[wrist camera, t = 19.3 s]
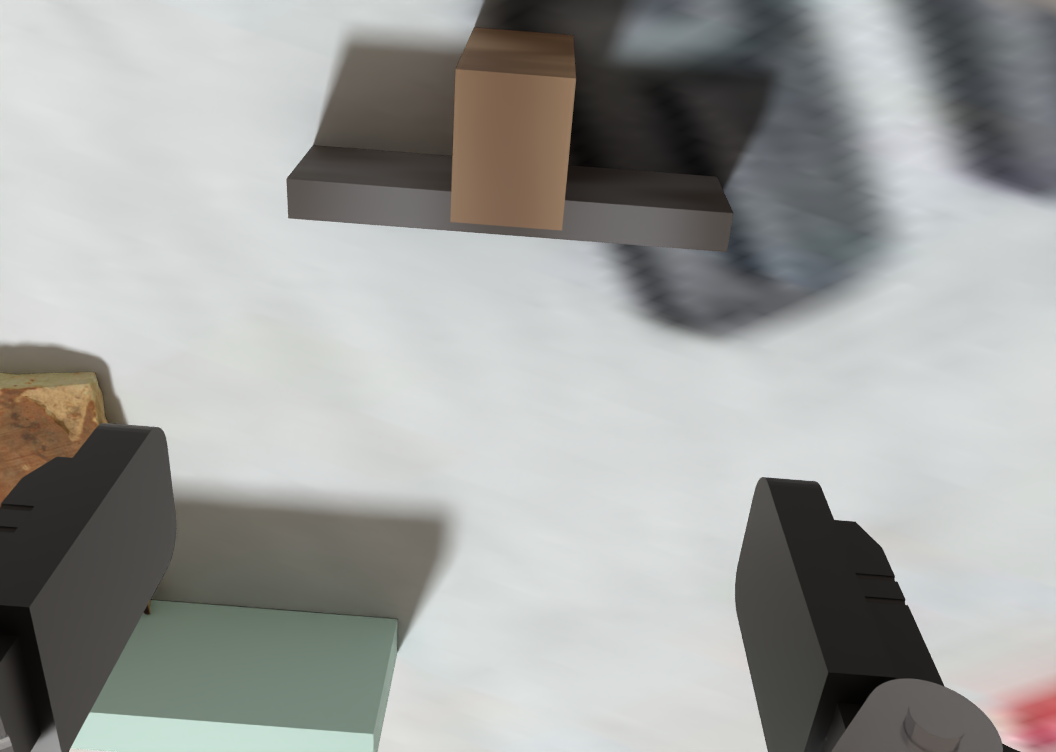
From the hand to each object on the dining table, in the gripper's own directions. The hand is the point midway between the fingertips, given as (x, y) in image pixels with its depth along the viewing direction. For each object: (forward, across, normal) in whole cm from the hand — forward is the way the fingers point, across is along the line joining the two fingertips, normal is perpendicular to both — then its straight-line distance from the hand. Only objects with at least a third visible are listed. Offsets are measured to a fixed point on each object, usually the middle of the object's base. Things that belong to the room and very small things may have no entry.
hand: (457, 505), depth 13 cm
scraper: (+20, 0, -1) cm, 20 cm away
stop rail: (+20, +14, +22) cm, 33 cm away
